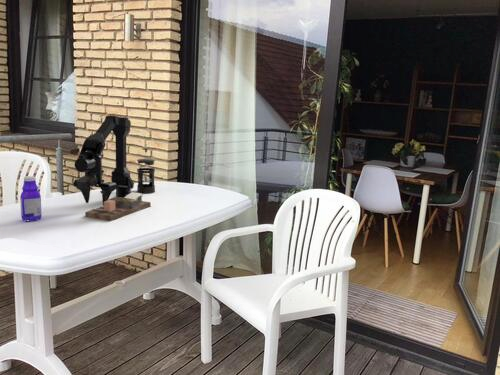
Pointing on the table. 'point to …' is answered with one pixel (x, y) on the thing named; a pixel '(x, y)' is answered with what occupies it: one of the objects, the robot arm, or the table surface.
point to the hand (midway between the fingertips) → (95, 204)
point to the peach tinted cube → (109, 205)
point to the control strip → (118, 210)
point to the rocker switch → (133, 195)
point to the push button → (123, 199)
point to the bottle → (30, 200)
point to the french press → (146, 187)
